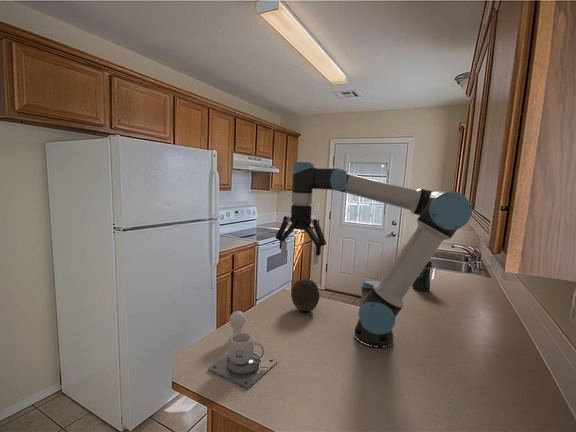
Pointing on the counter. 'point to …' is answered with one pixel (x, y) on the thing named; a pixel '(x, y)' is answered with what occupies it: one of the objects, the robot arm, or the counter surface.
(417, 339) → the counter surface
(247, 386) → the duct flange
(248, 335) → the mug
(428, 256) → the robot arm
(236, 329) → the lightbulb
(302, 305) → the coconut
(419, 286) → the coffee jar
